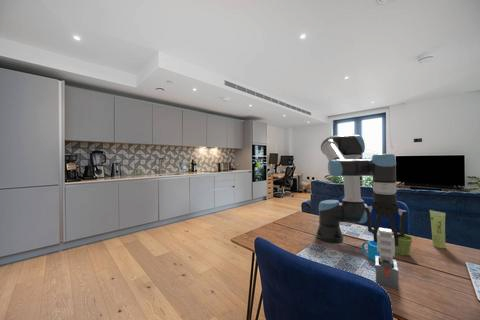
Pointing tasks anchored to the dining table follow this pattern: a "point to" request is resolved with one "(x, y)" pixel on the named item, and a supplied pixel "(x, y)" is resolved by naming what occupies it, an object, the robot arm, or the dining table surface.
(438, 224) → the tube
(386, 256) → the column
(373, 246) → the mug
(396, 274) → the stand
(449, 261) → the dining table surface
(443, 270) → the dining table surface
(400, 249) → the plant pot
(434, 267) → the dining table surface
